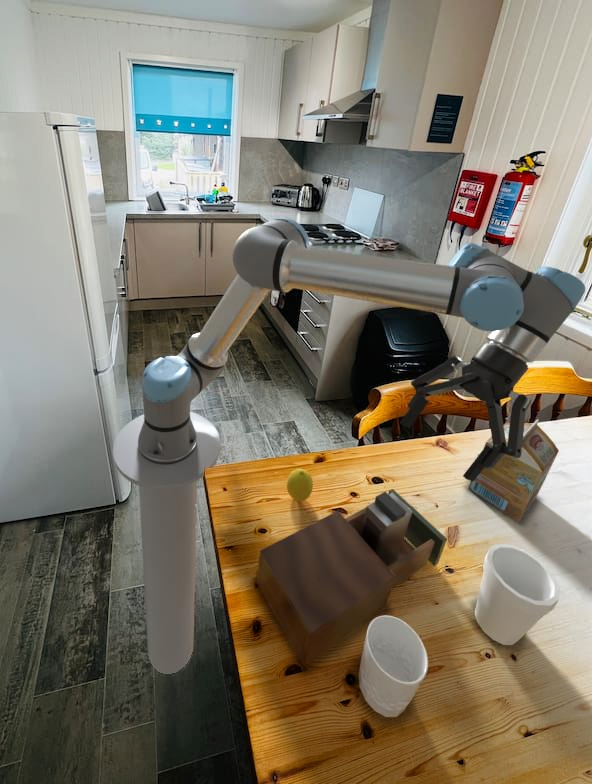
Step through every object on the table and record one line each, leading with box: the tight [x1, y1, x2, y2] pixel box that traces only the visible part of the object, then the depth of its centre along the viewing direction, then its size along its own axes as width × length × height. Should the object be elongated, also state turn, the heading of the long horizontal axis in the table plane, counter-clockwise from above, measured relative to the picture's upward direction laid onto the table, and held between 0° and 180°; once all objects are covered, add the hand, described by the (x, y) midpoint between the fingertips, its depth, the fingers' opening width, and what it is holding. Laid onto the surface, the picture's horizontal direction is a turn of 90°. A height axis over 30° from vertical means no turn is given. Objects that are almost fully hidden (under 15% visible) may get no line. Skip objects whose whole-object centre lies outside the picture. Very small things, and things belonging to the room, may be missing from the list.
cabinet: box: [255, 510, 396, 667], centre depth 67 cm, size 18×14×9 cm
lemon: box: [286, 468, 314, 502], centre depth 86 cm, size 6×6×8 cm
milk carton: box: [467, 418, 560, 522], centre depth 88 cm, size 11×10×19 cm
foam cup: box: [474, 543, 561, 646], centre depth 64 cm, size 10×9×13 cm
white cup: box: [357, 615, 429, 718], centre depth 56 cm, size 8×8×10 cm
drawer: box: [344, 488, 448, 590], centre depth 74 cm, size 18×12×7 cm
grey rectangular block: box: [359, 491, 412, 564], centre depth 72 cm, size 5×7×13 cm
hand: (433, 450), depth 71 cm, fingers open, 13 cm apart
